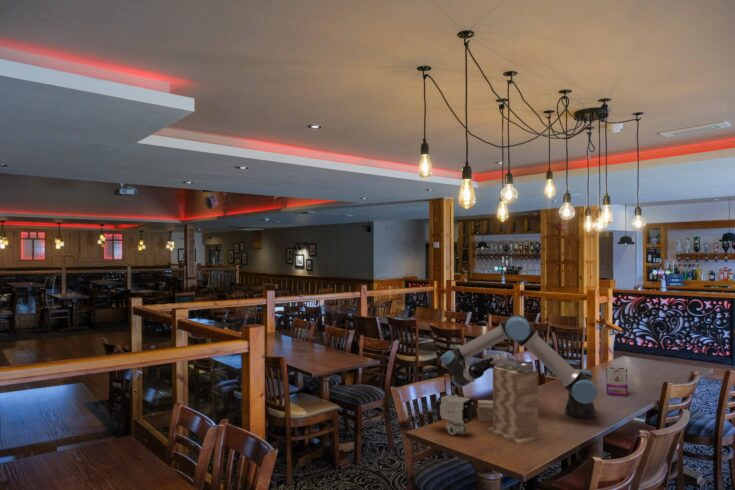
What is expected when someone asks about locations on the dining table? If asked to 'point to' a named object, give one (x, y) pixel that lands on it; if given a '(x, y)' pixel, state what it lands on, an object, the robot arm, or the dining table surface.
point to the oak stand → (515, 404)
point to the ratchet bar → (513, 364)
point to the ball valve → (456, 412)
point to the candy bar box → (616, 381)
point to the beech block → (485, 410)
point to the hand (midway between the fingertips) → (501, 355)
